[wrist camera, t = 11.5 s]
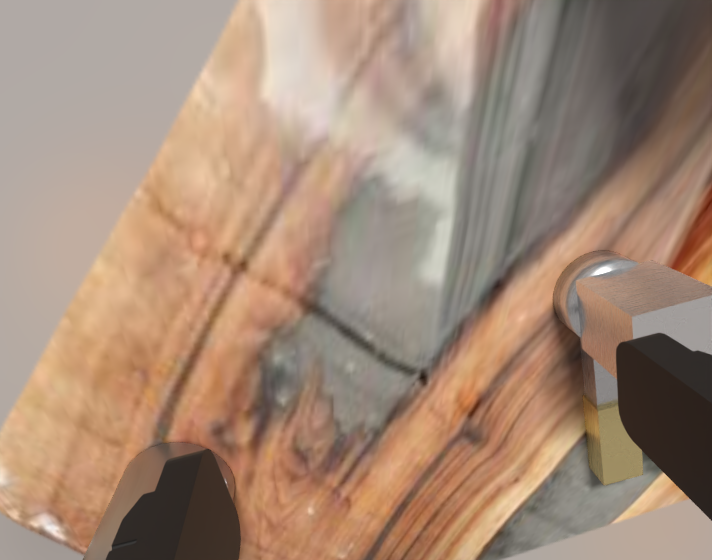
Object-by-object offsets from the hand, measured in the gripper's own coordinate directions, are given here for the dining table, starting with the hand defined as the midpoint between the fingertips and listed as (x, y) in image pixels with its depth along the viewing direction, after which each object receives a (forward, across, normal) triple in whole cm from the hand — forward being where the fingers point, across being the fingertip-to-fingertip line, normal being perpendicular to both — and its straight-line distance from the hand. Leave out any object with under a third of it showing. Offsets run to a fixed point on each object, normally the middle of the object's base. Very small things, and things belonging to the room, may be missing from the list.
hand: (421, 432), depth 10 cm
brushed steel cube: (+24, -19, +13) cm, 33 cm away
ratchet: (+28, -19, +20) cm, 39 cm away
